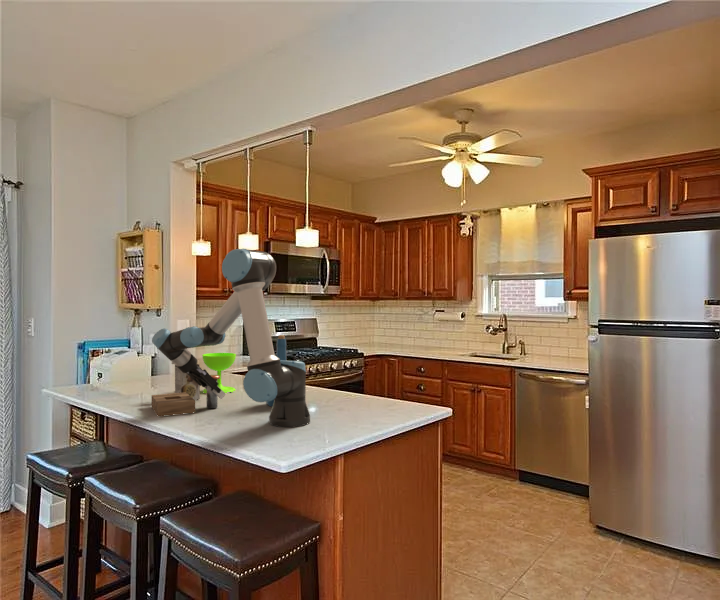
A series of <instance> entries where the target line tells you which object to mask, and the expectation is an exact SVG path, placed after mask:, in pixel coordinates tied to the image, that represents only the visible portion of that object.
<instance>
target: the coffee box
mask: <svg viewBox="0 0 720 600" xmlns="http://www.w3.org/2000/svg"><path fill="white" fill-rule="evenodd" d="M197 366H199V367H200V363H197ZM184 392H186V393H187V394H188V395H190V396H191V397H192V398H193V399H194V400H195V401H198V400H197V399H201V386H199V385H198V384H197V383H196V382H195V381H194V380H193V379H192V378H191V377H190V376H189V375H188V374H187V373H183V372H182V371H181V370H180V369H178V367H177V366H176V365H175V364H174V393H184Z"/></svg>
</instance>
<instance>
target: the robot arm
mask: <svg viewBox="0 0 720 600" xmlns="http://www.w3.org/2000/svg"><path fill="white" fill-rule="evenodd" d="M221 271H222V275H223V277H224V279H226V281H228V282H229V283H231V289H232V290H233V293H231V295H230V296H229V297H228V298H227V300H226V301H225V302H224V304H223V305H222V306H221V308H219V309H218V311H217V312H216V313H215V315H213V317H212V318H211V319H210V320H209V322H208V323H207V324H206V325H205V326H203V327H198V326H189V327H185V328H184V329H183V328H182V329H179V330H177V331H173V332H172V331H170V330H168V328H161V329H160V330H158V331H156V333H154V335H153V336H152V338H151V342H152V344H153V345H154V346H155V348H156V349H157V350H159V351H160V353H162V354H163V355H164V356H165V357H166V358H167V359H168V360H169V361H170V362H171V364H172V365H174V366H175V365H176V366H177V367H178V369H180V370H181V371H182V372H183V373H187V374H188V375H189V376H190V377H191V378H192V379H193V380H194V381H195V382H196V383H197V384H198V385H199V386H200V387H201V388H204V389H206V390H207V385H208V386H209V387H210V388H211V391H213V392H214V393H215V394H216V395H217V398H219V399H220V400H223V398H224V397H225V396H226V394H225V393H224V392H223V391H222V390H221V389H220V388H219V387H218V386H217V385H218V383H217V382H216V381H215V380H214V379H213V378H212V377H211V376H210V375H211V374H209V372H208V371H207V370H206V369H205V368H203V369H202V367H200V365H199V366H197V364H198V359H197V357H195V356H194V355H193V354H192V353H191V351H190V350H189V349H191V348H193V349H194V348H200V347H201V348H202V347H211V346H212V347H213V346H218V345H220V344H222V343H223V342H224V341H225V339H226V332H227V331H228V329H230V327H232V325H233V324H234V323H235V322H236V321H237V319H238V318H239V317H240V316H241V319H242V322H243V323H242V324H243V328H244V333H245V339H246V343H247V344H246V345H247V349H248V356H249V362H248V363H247V365H246V368H247V369H246V370H247V373H245V375H244V378H243V381H242V384H243V389H244V392H245V393H246V395H247V397H248V398H249V399H251V400H252V401H254V402H257V403H266V402H268V401H272V400H274V404H273V407H271V410H270V413H269V418H268V419H269V421H268V424H270V425H271V426H274V427H281V428H283V427H284V428H289V427H290V428H292V427H293V426H295V427H301V426H300V425H302V426H305V425H304V424H306V425H308V424H310V423H309V422H311V415H310V411H309V409H308V406H307V402H306V393H307V392H306V391H307V389H306V384H307V383H306V382H307V381H306V377H307V375H306V374H307V370H306V363H305V362H304V361H301V360H299V361H297V360H287V361H286V360H280V359H279V358H278V357H276V356H277V355H276V354H275V350H274V345H273V339H272V333H271V330H270V329H271V328H270V322H269V318H268V314H267V308H266V304H265V297H264V292H263V291H266V289H267V288H268V287H269V286H270V285H271V284H272V282H273V281H274V278H275V276H276V272H277V263H276V260H275V259H274V257H273V256H272V255H271V254H269V253H268V252H266V251H261V250H254V249H247V248H236V249H232V250H230V251H229V252H228V253H227V254H226V255H225V258H224V259H223V261H222V263H221ZM307 423H308V424H307Z"/></svg>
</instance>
